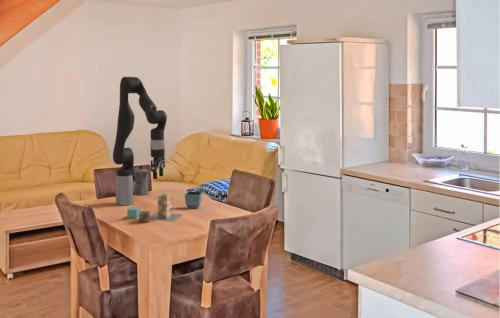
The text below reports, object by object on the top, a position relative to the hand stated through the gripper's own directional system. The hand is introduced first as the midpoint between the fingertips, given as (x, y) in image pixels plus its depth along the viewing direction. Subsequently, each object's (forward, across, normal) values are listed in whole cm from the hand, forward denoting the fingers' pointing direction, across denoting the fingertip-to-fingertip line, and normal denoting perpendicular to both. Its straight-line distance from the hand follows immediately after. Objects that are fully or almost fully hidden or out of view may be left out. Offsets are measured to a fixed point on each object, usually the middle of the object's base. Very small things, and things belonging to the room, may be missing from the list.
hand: (158, 177), depth 296 cm
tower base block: (+20, +7, +6) cm, 22 cm away
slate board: (+21, +7, +6) cm, 23 cm away
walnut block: (+21, +18, -1) cm, 27 cm away
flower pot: (+21, -19, +14) cm, 31 cm away
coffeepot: (+21, -48, -32) cm, 62 cm away
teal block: (+21, +12, -9) cm, 26 cm away
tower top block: (+14, +7, +6) cm, 16 cm away
